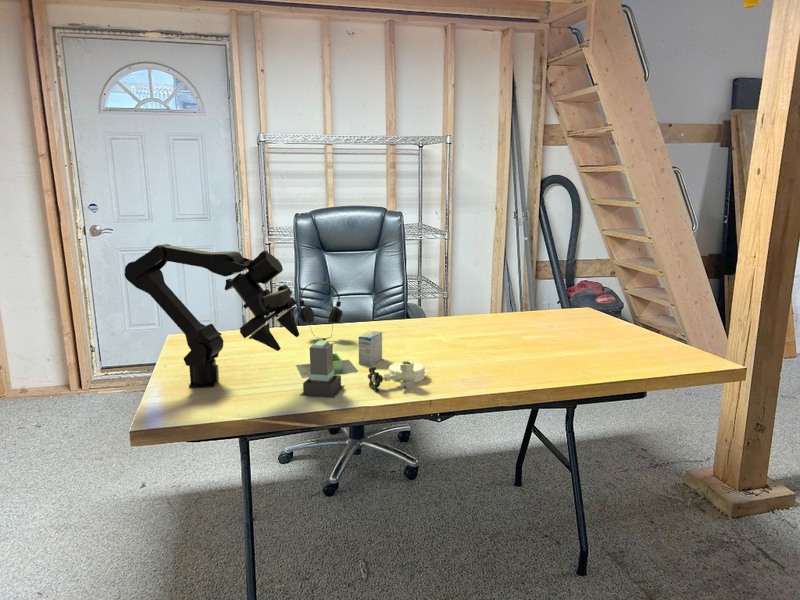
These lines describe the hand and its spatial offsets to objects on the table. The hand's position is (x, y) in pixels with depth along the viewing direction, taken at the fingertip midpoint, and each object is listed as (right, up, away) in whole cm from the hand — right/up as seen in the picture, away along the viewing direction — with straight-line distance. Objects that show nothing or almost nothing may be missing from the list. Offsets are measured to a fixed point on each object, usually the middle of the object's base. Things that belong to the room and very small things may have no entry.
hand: (288, 342), depth 146 cm
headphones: (+1, -3, +49) cm, 49 cm away
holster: (+9, -13, -1) cm, 15 cm away
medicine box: (+20, -8, +25) cm, 33 cm away
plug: (+9, -12, -1) cm, 15 cm away
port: (+8, -9, +17) cm, 21 cm away
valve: (+27, -12, +3) cm, 30 cm away
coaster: (+31, -11, +11) cm, 34 cm away
